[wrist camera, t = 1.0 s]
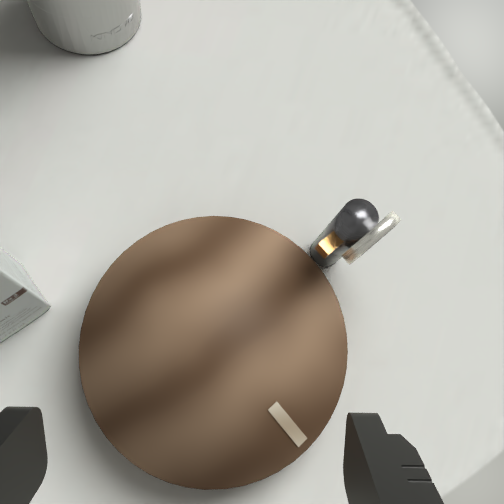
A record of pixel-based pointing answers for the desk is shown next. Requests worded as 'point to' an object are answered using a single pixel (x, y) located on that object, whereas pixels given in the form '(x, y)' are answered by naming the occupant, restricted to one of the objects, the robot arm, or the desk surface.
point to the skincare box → (17, 297)
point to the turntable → (213, 352)
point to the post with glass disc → (351, 233)
